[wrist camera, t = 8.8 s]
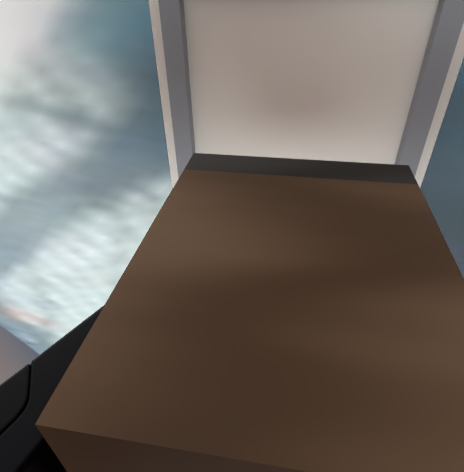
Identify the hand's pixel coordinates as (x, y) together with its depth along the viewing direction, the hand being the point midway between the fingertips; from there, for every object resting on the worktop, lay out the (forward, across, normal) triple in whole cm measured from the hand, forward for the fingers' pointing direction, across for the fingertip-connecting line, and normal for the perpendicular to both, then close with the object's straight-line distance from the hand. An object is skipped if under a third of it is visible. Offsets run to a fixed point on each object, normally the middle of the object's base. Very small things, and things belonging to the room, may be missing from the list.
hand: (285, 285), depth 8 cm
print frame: (+10, 0, 0) cm, 11 cm away
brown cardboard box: (+2, 0, 0) cm, 2 cm away
